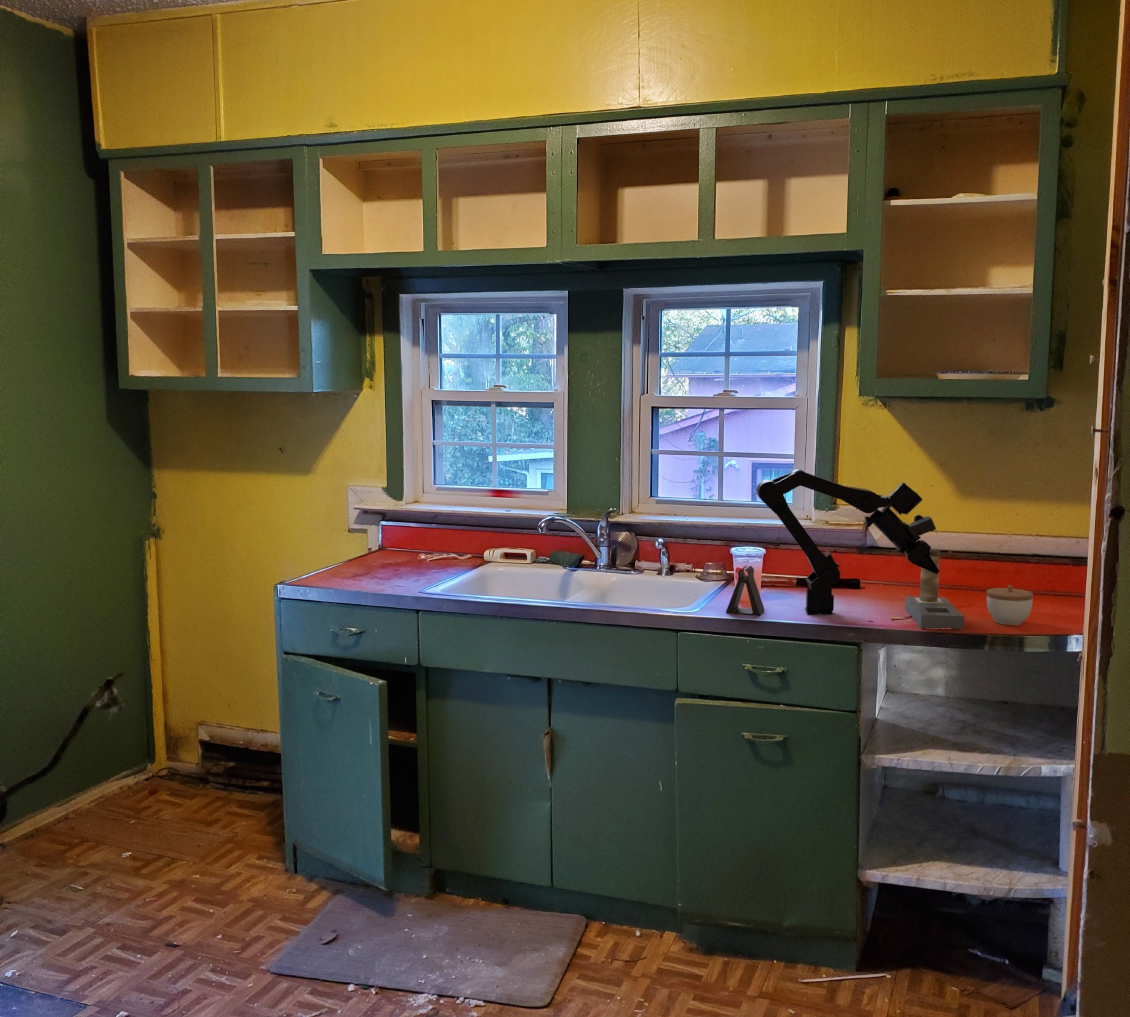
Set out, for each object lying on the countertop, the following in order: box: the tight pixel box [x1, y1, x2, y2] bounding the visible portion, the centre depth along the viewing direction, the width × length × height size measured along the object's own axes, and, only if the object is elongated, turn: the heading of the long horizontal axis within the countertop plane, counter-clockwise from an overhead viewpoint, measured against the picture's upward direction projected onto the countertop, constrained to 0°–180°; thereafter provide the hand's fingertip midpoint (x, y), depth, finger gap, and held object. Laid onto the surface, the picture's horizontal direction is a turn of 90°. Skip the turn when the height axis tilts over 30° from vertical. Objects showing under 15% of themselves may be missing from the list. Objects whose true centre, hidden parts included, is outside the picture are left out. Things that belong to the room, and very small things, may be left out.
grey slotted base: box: [904, 596, 965, 630], centre depth 266 cm, size 10×22×4 cm, turn 172°
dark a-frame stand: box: [725, 565, 766, 617], centre depth 275 cm, size 9×6×12 cm, turn 67°
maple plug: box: [919, 548, 941, 602], centre depth 271 cm, size 5×5×13 cm
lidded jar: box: [986, 584, 1034, 626], centre depth 262 cm, size 11×11×9 cm
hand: (935, 570), depth 271 cm, fingers open, 6 cm apart
